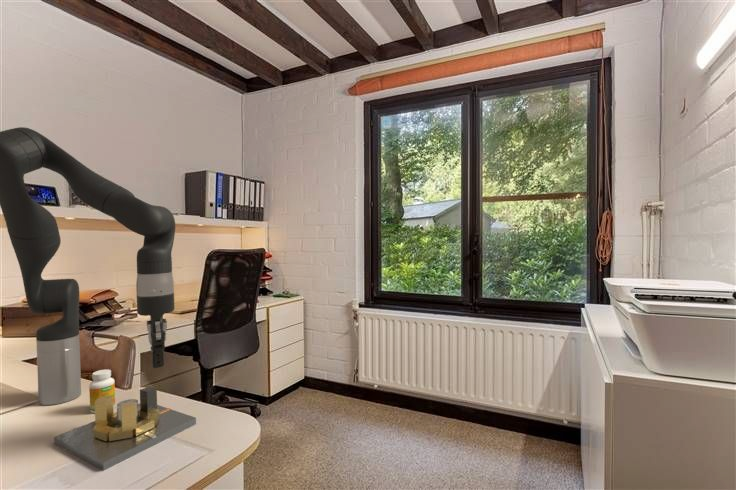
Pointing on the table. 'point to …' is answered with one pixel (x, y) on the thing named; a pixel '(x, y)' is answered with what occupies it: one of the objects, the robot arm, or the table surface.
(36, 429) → the table surface
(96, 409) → the gold octagonal ring
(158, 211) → the robot arm
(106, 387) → the supplement bottle
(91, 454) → the base plate
